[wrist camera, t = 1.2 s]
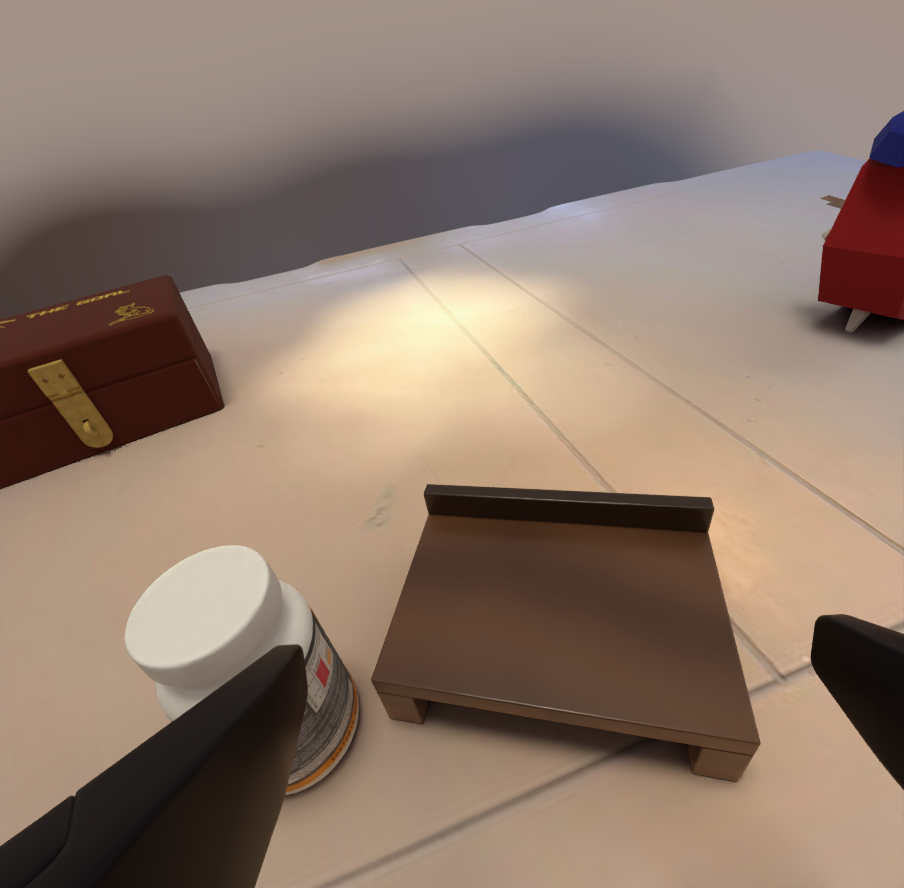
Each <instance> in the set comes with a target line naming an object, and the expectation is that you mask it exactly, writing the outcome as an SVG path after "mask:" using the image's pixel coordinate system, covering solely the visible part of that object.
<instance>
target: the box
mask: <svg viewBox="0 0 904 888" xmlns="http://www.w3.org/2000/svg"><path fill="white" fill-rule="evenodd" d="M223 407H224V403H223V400H222V396H221V392H220V388H219V385H218V381H217V377H216V373H215V370H214V366H213V362H212V359H211V355H210V353H209V351H208V349H207V347H206V345H205V343H204V341H203V339H202V337H201V335H200V333H199V331H198V329H197V327H196V325H195V323H194V321H193V319H192V317H191V315H190V313H189V311H188V310H187V307H186V305H185V303H184V301H183V299H182V297H181V295H180V293H179V291H178V289H177V287H176V285H175V283H174V281H173V279H172V278H171V277H170V276H167V275H165V276H161V277H157V278H154V279H150V280H146V281H142V282H139V283H135V284H131V285H127V286H124V287H120V288H116V289H112V290H109V291H105V292H101V293H98V294H94V295H91V296H86V297H83V298H79V299H75V300H71V301H68V302H64V303H60V304H57V305H53V306H49V307H45V308H42V309H38V310H34V311H31V312H27V313H23V314H19V315H15V316H12V317H8V318H4V319H0V489H1V488H3V487H6V486H9V485H12V484H14V483H17V482H20V481H23V480H26V479H28V478H31V477H34V476H37V475H40V474H42V473H45V472H48V471H51V470H53V469H56V468H59V467H62V466H65V465H67V464H70V463H73V462H76V461H79V460H81V459H84V458H87V457H90V456H92V455H95V454H98V453H101V452H104V451H106V450H109V449H112V448H115V447H117V446H120V445H123V444H126V443H129V442H131V441H134V440H137V439H140V438H143V437H145V436H148V435H151V434H154V433H156V432H159V431H162V430H165V429H168V428H170V427H173V426H176V425H179V424H182V423H184V422H187V421H190V420H193V419H195V418H198V417H201V416H204V415H207V414H209V413H212V412H215V411H218V410H220V409H222V408H223Z"/></svg>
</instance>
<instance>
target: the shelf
mask: <svg viewBox="0 0 904 888" xmlns="http://www.w3.org/2000/svg"><path fill="white" fill-rule="evenodd" d="M424 497H425V502H426V506H427V510H428V513H429V515H428V518H427V521H426V524H425V527H424V529H423V532H422V535H421V538H420V541H419V544H418V547H417V550H416V552H415V555H414V558H413V561H412V564H411V567H410V570H409V573H408V575H407V578H406V581H405V584H404V587H403V590H402V593H401V595H400V598H399V601H398V604H397V607H396V610H395V613H394V616H393V618H392V621H391V624H390V627H389V630H388V633H387V636H386V639H385V641H384V644H383V647H382V650H381V653H380V656H379V659H378V662H377V664H376V667H375V670H374V673H373V676H372V679H371V681H372V683H373V685H374V687H375V689H376V691H377V693H378V695H379V697H380V699H381V701H382V703H383V705H384V707H385V709H386V711H387V713H388V715H389V717H390V718H393V719H399V720H404V721H410V722H415V723H421V724H423V721H424V717H425V713H426V709H427V705H428V701H429V700H430V701H436V702H442V703H448V704H454V705H460V706H466V707H472V708H478V709H483V710H489V711H495V712H501V713H507V714H513V715H519V716H525V717H531V718H536V719H542V720H548V721H554V722H560V723H566V724H572V725H578V726H584V727H589V728H595V729H601V730H607V731H613V732H619V733H625V734H631V735H637V736H642V737H648V738H654V739H660V740H666V741H672V742H678V743H684V744H688V750H689V757H690V764H691V771H692V773H694V774H698V775H704V776H709V777H715V778H720V779H726V780H731V781H738V780H739V779H740V777H741V775H742V774H743V772H744V771H745V769H746V767H747V766H748V764H749V762H750V761H751V759H752V757H753V755H754V754H755V752H756V751H757V749H758V747H759V746H760V739H759V735H758V731H757V727H756V723H755V719H754V715H753V711H752V707H751V703H750V699H749V695H748V691H747V687H746V683H745V679H744V675H743V671H742V667H741V663H740V659H739V655H738V651H737V647H736V643H735V638H734V634H733V630H732V626H731V622H730V618H729V614H728V610H727V606H726V602H725V598H724V594H723V590H722V586H721V582H720V578H719V574H718V570H717V566H716V562H715V558H714V554H713V550H712V546H711V542H710V538H709V534H708V531H709V527H710V523H711V520H712V516H713V512H714V506H713V502H712V499H711V498H710V497H689V496H668V495H646V494H625V493H604V492H583V491H561V490H540V489H519V488H498V487H476V486H455V485H434V484H427V486H426V489H425V491H424Z"/></svg>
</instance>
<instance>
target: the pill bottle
mask: <svg viewBox="0 0 904 888" xmlns="http://www.w3.org/2000/svg"><path fill="white" fill-rule="evenodd" d="M290 644H299V645H300V646H301V647H302V649H303V653H304V660H305V667H306V675H307V682H308V696H307V702H306V707H305V711H304V716H303V720H302V724H301V729H300V733H299V738H298V742H297V747H296V751H295V755H294V760H293V764H292V769H291V773H290V778H289V782H288V786H287V790H286V794H285V795H289V794H293V793H297V792H299V791H302V790H304V789H306V788H308V787H310V786H312V785H313V784H315V783H317V782H318V781H320V780H321V779H323V778H324V777H325V776H326V775H327V774H328V773H329V772H330V771H331V770H332V769H333V768H334V767H335V766H336V765H337V764H338V762H339V761H340V760H341V758H342V757H343V755H344V754H345V752H346V751H347V749H348V748H349V746H350V743H351V741H352V738H353V735H354V733H355V730H356V727H357V722H358V716H359V700H358V694H357V690H356V687H355V684H354V682H353V680H352V678H351V675H350V674H349V672H348V670H347V669H346V667H345V665H344V664H343V662H342V660H341V659H340V657H339V655H338V654H337V652H336V650H335V649H334V647H333V645H332V643H331V642H330V640H329V638H328V637H327V635H326V634H325V632H324V630H323V628H322V627H321V625H320V623H319V621H318V620H317V618H316V616H315V614H314V613H313V611H312V609H311V608H310V606H309V604H308V603H307V601H306V600H305V598H304V597H303V596H302V595H301V594H300V593H299V592H298V591H297V590H296V589H295V588H294V587H292V586H291V585H289V584H287V583H285V582H283V581H281V580H278V578H277V576H276V575H275V573H274V572H273V570H272V568H271V567H270V566H269V564H268V563H267V561H266V560H265V559H264V558H263V556H262V555H261V554H259V553H258V552H257V551H255V550H253V549H251V548H248V547H244V546H237V545H226V546H219V547H214V548H210V549H207V550H204V551H201V552H199V553H196V554H194V555H192V556H190V557H187V558H186V559H184V560H182V561H180V562H179V563H177V564H176V565H174V566H173V567H171V568H170V569H168V570H167V571H166V572H165V573H164V574H162V575H161V576H160V577H159V578H157V579H156V580H155V581H154V582H153V583H152V584H151V585H150V586H149V587H148V589H147V590H146V591H145V592H144V593H143V594H142V595H141V597H140V598H139V600H138V601H137V603H136V605H135V606H134V608H133V610H132V612H131V614H130V616H129V619H128V622H127V625H126V629H125V646H126V649H127V652H128V653H129V655H130V657H131V658H132V659H133V661H134V662H135V663H136V664H137V665H138V666H139V667H140V668H141V669H142V670H143V671H144V672H145V673H146V674H147V675H148V676H149V677H150V678H151V679H152V680H154V681H155V688H156V694H157V697H158V701H159V703H160V705H161V707H162V709H163V711H164V712H165V714H166V715H167V717H168V718H169V719H170V720H171V721H174V720H175V719H177V718H178V717H179V716H181V715H182V714H183V713H185V712H186V711H188V710H189V709H190V708H192V707H193V706H194V705H196V704H197V703H198V702H200V701H201V700H203V699H204V698H205V697H207V696H208V695H209V694H211V693H212V692H214V691H215V690H216V689H218V688H219V687H220V686H222V685H223V684H224V683H226V682H227V681H229V680H230V679H231V678H233V677H234V676H235V675H237V674H238V673H240V672H241V671H242V670H244V669H245V668H246V667H248V666H249V665H251V664H252V663H253V662H255V661H256V660H257V659H259V658H260V657H261V656H263V655H264V654H266V653H267V652H268V651H270V650H271V649H272V648H274V647H275V646H278V645H290Z"/></svg>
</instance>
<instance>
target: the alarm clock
mask: <svg viewBox="0 0 904 888" xmlns="http://www.w3.org/2000/svg"><path fill="white" fill-rule="evenodd" d="M869 158H870V159H869V160H868V161H867V162H866V163H865V164H864V165H863V166H862V167H861V170H860V172H859V174H858V176H857V178H856V180H855V182H854V184H853V186H852V188H851V190H850V192H849V194H848V196H847V198H846V200H843V199H839V198H836V197H833V196H826V197H823V198H820V199H823V200H827V201H830V202H831V203H827V205H830V206H834V207H837V208H840V209H841V210H840V212H839V214H838V216H837V219H836V221H835V223H834V225H833V227H832V228H831V229H830V230H828V231H827V232H825V233H824V234H822V237H823V238H824V240H825V243H824V245H823V252H822V262H821V273H820V284H819V295H818V301H821V302H826V303H830V304H834V305H839V306H843V307H848V308H852V309H853V311H852V313H851V316H850V318H849V321H848V324H847V326H846V329H845V330H846V331H847V332H848V333H853V332H854V330H855V329H856V328H857V327H858V326H859V325H860V324H861V323H862V322H863V321H864V320H865V319H866V318H867V317H868V315H869V314H870V313H875V314H879V315H883V316H888V317H892V318H897V319H902V320H904V111H903V112H901V113H899V114H898V115H896V116H894V117H893V118H892V119H891V120H890V121H889V122H888V123H887V125H886V126H885V127H884V128H883V129H882V130H881V132H880V133H879V134H878V135H877V136H876V137H875V139H874V142H873V146H872V150H871V153H870V157H869Z"/></svg>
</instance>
